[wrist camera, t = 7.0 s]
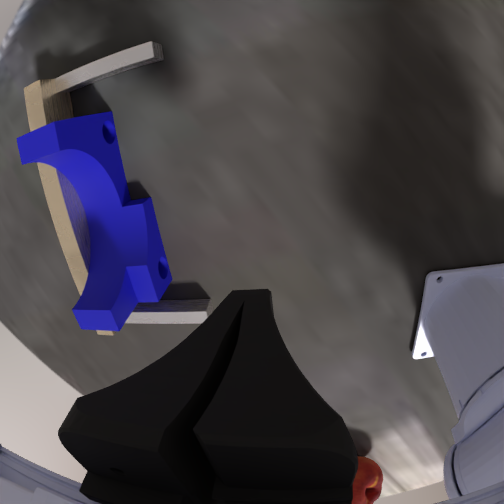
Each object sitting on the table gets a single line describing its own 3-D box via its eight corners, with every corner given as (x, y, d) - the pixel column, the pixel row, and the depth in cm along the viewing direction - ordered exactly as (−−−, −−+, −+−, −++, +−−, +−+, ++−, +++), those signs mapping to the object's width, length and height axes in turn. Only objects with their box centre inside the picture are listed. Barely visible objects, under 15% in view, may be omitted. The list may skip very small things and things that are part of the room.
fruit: (382, 463, 32) (388, 516, 25) (322, 476, 34) (322, 528, 27) (376, 437, 29) (384, 500, 22) (306, 452, 31) (304, 513, 24)
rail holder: (161, 44, 15) (140, 37, 13) (213, 310, 23) (204, 337, 20) (52, 85, 17) (23, 88, 14) (114, 311, 24) (97, 334, 22)
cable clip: (173, 277, 22) (141, 331, 17) (120, 280, 23) (81, 329, 18) (133, 105, 17) (77, 112, 12) (77, 123, 18) (16, 138, 13)
